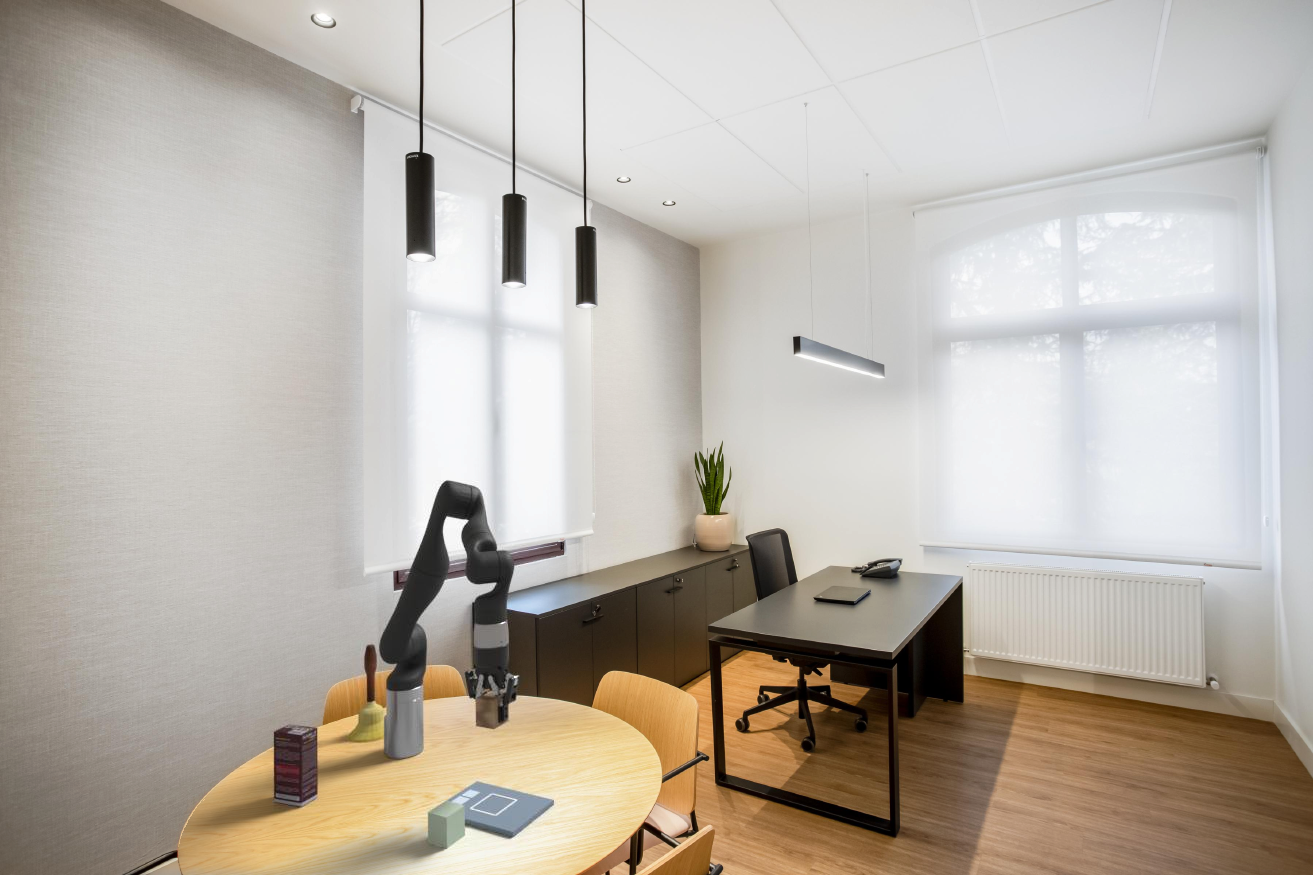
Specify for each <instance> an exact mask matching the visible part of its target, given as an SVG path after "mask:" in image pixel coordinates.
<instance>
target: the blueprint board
mask: <svg viewBox="0 0 1313 875" xmlns="http://www.w3.org/2000/svg"><path fill="white" fill-rule="evenodd" d="M445 801H449V802H453V803H457V804H460V805H464V806H465V825H470V826H472V827H473V826H474V827H476V828H479V829H483V830H487V831H490V832H494V833H497V834H501V835H505V836H508V837H511V838H514V837H516V836H517V835H518V834H519V833H520V832H522V831H523V830H524V829H525V828H527V827H528V826H529V825H530V824H532V823H533V822H534V821H535V820H537V819H538V818H539V817H541V816H542V815H543V814H544V813H545V812H547V811H548V810H550V809H551V808H552V807H553V806H554V805H555V800H554V799H552V798H548V797H543V796H540V795H536V794H532V793H527V792H522V791H518V790H514V789H511V788H507V787H502V786H500V785H499V786H498V785H494V784H489V783H487V782H486V783H485V782H482V781H478V780H477V781H475V782H473V783H471V784H470V785H469V786H467V787H465V788H464V789H462V790H461V791H459V792H458V793H456V794H455V795H452V796H451V797H450V798H448V799H446V800H445Z"/></svg>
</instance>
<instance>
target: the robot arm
mask: <svg viewBox="0 0 1313 875" xmlns="http://www.w3.org/2000/svg"><path fill="white" fill-rule="evenodd" d="M447 518H453V519H457V520H462V521H463V520H465V521H466V523H465V524H464V526H463V527H462V530H461V532H460V533H461V535H460V538H461V542H462V546H463V547H464V548H463V549H464V551H465V553H466V562H465V577H466V578H467V580H468V581H469V582H470V583H472V585H473V584H474V585H477V586H478V585H480V586H481V585H485V584H487V585H488V584H495V585H494V587H493V589H492V590H490V591H488V592H485V593H483V594H479V595H478V596H477V597H475V599H474V604H473V607H474V608H473V610H474V627H473V664H474V666H475V668H471V669H469V670H466V671H465V672H464V678H465V682H466V688H467V689H466V690H467V693H468V697H469V699H473V700H475V698H477V697H479V696H482V695H483V694H485V693H488V692H489V691H493V694H494V696H495V697H496V698H497V701H498V705H499V706H498V723H501V724H502V723H504V722H505V721H506V720H507V719H508V704H509V705H510V704H511V703H514V702H516V701H517V696H518V691H519V685H520V679H521V677H520V675H519V674H516V675H514V674H511V673H510V671H509V668H508V665H509V664H508V663H509V662H510V649H509V648H510V644H509V641H510V640H509V638H510V636H509V633H510V632H509V624H508V596H509V591H510V586H511V583H512V579H513V576H514V572H515V560H514V559H515V558H514V557H513V555H512V554H511V553H510V551H508V550H505V549H502V550H500V549H499V550H498V545H497V541H496V539H495V537H494V534H493V533H492V531H491V529H490V526H489V523H488V519H487V518H488V517H487V511H486V505H485V500H484V496H483V493H482V491H481V489H480V488H478V487H477V486H475V485H471V484H467V483H463V482H460V481H454V480H449V479H447V480H445V481H443V482H442V483H441V485H440V486H439V488H438V490H437V492H436V495H435V497H434V501H433V504H432V508H431V512H430V515H429V519H428V522H427V525H426V528H425V531H424V534H423V537H422V539H421V541H420V544H419V547H418V549H417V552H416V554H415V556H414V559H413V561H412V565H411V567H410V570H409V571H408V575H407V578H406V581H405V584H404V586H403V589H402V591H401V594H400V596H399V598H398V601H397V604H396V606H395V608H394V611H393V613H392V615H391V617H390V618H389V620H388V623H387V624H386V626H385V628H384V630H383V633H382V634H381V637H380V639H379V645H378V651H379V656H380V658H381V660H382V661H383V662H384V663H386V664H389V665H395V667H394V668H393V670H392V671H391V672H390V673H389V674H388V676H387V677H386V683H385V690H386V692H385V693H386V696H385V697H386V699H385V700H386V704H385V705H386V708H385V710H386V712H385V713H386V715H384V738H383V754H386V756H387V757H388V758H391V759H399V760H400V759H406V758H410V757H414V756H417V755H418V754H420V753H422V752H423V751H424V748H425V747H424V745H425V743H424V740H425V739H424V737H425V736H424V733H425V732H424V731H425V730H424V728H425V727H424V725H425V724H424V676H425V675H426V670H427V659H428V658H427V654H428V640H427V634H426V632H425V629H424V628H423V627H422V625H420V624H419V623H417V622H418V621H419V619H420V618H421V616H422V615H423V613H424V612H425V611H426V610H427V608H428V607H429V606H430V605H431V604H432V602H434V600H435V599H436V597H437V596H438V594H439V593H440V592H441V590H442V587H443V586H444V583H445V580H446V578H447V574H448V573H449V570H450V566H451V563H450V556H449V552H448V549H447V546H446V541H445V538H444V524H445V522H446V519H447ZM499 689H500V690H499ZM502 696H503V698H502Z"/></svg>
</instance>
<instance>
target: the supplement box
mask: <svg viewBox="0 0 1313 875" xmlns="http://www.w3.org/2000/svg"><path fill="white" fill-rule="evenodd" d="M318 752H319V751H318V727H313V726H304V725H297V724H288V725H286V726H283V727H280V728H278V729H276V730H274V731H273V802H274V803H278V804H285V805H289V806H295V807H300V808H301V807H303V806H306V805H308V804H309V803H311V802H313V801H314V800H316V799H317V798H318V797H319V794H318V790H319V787H318V786H319V782H318V778H319V777H318V775H319V774H318V763H319V762H318V757H319V756H318Z"/></svg>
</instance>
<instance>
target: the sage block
mask: <svg viewBox="0 0 1313 875" xmlns="http://www.w3.org/2000/svg"><path fill="white" fill-rule="evenodd" d="M464 837H466V824H465V806H464V805H460V804H457V803H453V802H449V801H446V800H444V801H443V802H442V803H440V804H439V805H437V806H436V807H434V808H432V809H431V810H429V811H428V812H427V841H428V842H427V843H428V844H431V845H434V846H438V847H441V848H444V849H448V848H450V847H451V846H453V845H454V844H456V843H457V842H458V841H460V840H461V839H463V838H464Z"/></svg>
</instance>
